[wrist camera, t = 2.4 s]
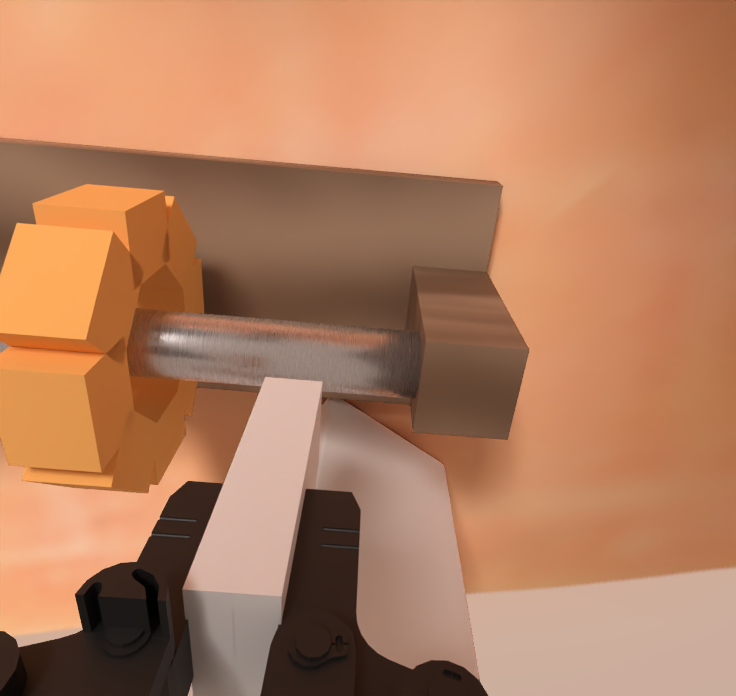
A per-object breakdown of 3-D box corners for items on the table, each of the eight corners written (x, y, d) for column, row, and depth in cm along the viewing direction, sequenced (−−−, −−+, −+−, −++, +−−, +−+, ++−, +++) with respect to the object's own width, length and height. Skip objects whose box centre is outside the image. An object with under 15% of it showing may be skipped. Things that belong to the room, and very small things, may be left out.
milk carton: (331, 389, 26) (235, 999, 9) (445, 463, 27) (551, 1087, 10) (254, 482, 28) (63, 1089, 11) (362, 543, 30) (338, 1145, 13)
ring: (129, 168, 19) (-56, 234, 11) (196, 174, 19) (60, 244, 11) (154, 387, 24) (32, 553, 15) (209, 391, 24) (117, 559, 15)
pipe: (-261, 256, 18) (-358, 283, 15) (463, 316, 18) (475, 351, 16) (-228, 327, 19) (-313, 362, 17) (451, 383, 19) (460, 424, 17)
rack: (-198, 120, 21) (-505, 141, 14) (497, 181, 21) (557, 233, 14) (-115, 350, 25) (-312, 458, 18) (458, 397, 26) (487, 520, 18)
